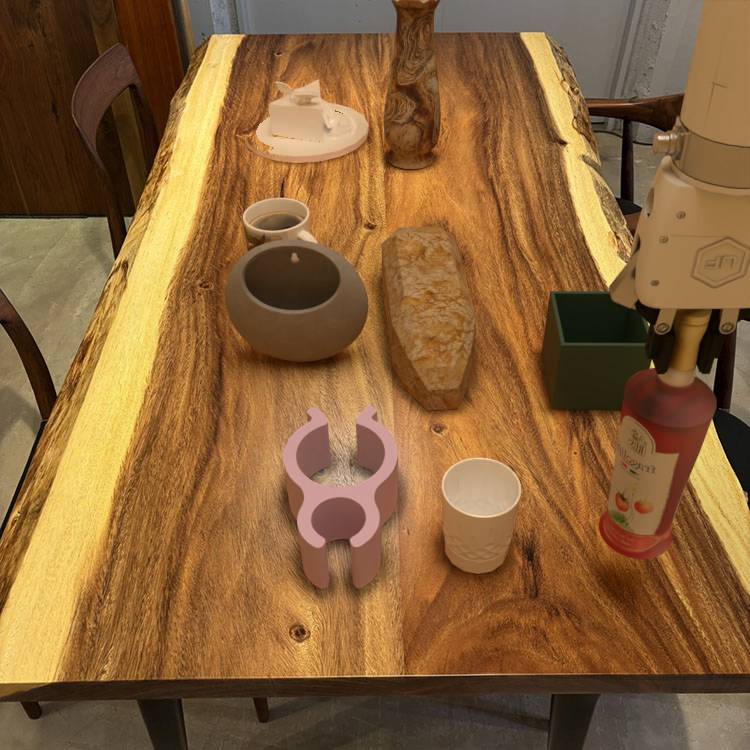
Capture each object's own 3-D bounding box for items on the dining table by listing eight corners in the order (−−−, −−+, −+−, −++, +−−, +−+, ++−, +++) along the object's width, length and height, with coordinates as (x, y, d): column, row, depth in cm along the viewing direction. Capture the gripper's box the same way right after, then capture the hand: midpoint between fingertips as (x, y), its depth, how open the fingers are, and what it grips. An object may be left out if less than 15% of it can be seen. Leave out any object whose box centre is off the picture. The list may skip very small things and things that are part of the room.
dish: (347, 169, 155) (344, 110, 148) (223, 154, 161) (214, 97, 154) (383, 114, 173) (382, 59, 166) (270, 103, 179) (264, 49, 171)
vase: (373, 157, 159) (368, -10, 139) (414, 140, 164) (416, -23, 144) (410, 177, 153) (411, 5, 133) (452, 158, 158) (459, -10, 138)
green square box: (639, 410, 105) (655, 345, 98) (550, 409, 106) (561, 345, 99) (623, 354, 113) (637, 291, 107) (541, 354, 114) (550, 290, 107)
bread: (378, 257, 133) (377, 201, 126) (447, 253, 133) (449, 197, 127) (398, 412, 106) (397, 351, 99) (484, 407, 106) (489, 346, 100)
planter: (230, 375, 112) (209, 256, 100) (239, 342, 117) (220, 225, 105) (368, 377, 111) (364, 257, 99) (371, 343, 117) (367, 226, 104)
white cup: (450, 585, 86) (453, 523, 80) (430, 526, 92) (432, 464, 86) (523, 571, 87) (532, 509, 81) (499, 513, 93) (506, 451, 87)
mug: (313, 254, 134) (308, 192, 127) (327, 297, 125) (323, 233, 118) (247, 264, 132) (238, 202, 125) (257, 308, 123) (248, 244, 116)
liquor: (688, 547, 81) (766, 314, 62) (632, 582, 78) (696, 349, 60) (633, 498, 85) (690, 269, 67) (578, 530, 83) (622, 299, 64)
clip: (401, 587, 86) (401, 546, 82) (280, 590, 86) (273, 548, 82) (396, 447, 101) (396, 405, 97) (293, 449, 101) (288, 407, 97)
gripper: (619, 178, 53) (583, 395, 65) (885, 173, 52) (798, 394, 64) (599, 126, 58) (569, 334, 70) (839, 121, 57) (767, 333, 69)
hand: (679, 361), depth 67 cm, fingers closed on liquor, 2 cm apart
